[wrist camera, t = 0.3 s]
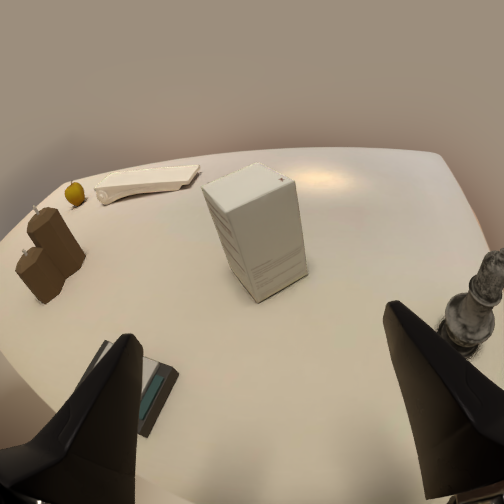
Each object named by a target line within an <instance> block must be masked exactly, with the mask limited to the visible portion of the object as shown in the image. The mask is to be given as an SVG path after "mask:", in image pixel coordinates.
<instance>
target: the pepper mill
mask: <svg viewBox="0 0 504 504" xmlns="http://www.w3.org/2000/svg"><path fill="white" fill-rule="evenodd" d="M503 288H504V248H502V249H500V252H499V251H491V252H488V253H487V254H486V255H485V257H484V259H483V261H482V264H481V266H480V269H479V271H478V273H477V275H475V276H473V277H472V278H471V280H470V282H469V291H468V293H460V294H457V295H455V296H454V297H452V298H451V299H450V301H449V302H448V304H447V307H446V310H445V318H446V319H445V320H443V321H442V323H441V324H440V326H439V329H438V334H439V335H440V336H441V337H442V338H444V339H445V340H446V341H447V342H448V343H449V344H450V345H451V346H453V347H454V348H455V349H456V350H457V351H458V352H459V353H460V354H461V355H462V356H464V357H465V358H468V357H470V356H471V355H472V354H473V353H475V351H476V349H477V348H478V344H479V343H482V342H484V341H486V340H487V339H488V338H489V337H490V336H491V335H492V332H493V330H494V326H495V318H494V314H493V311H492V309H493V307H494V306H496V305H498V304H499V303H500V301H501V299H502V290H503Z"/></svg>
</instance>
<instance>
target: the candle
mask: <svg viewBox="0 0 504 504" xmlns="http://www.w3.org/2000/svg"><path fill="white" fill-rule="evenodd" d="M33 209H34V210H35V212H36V214H35V215H34V216H33V217H32V218H31V220H30V221H29V222H28V227H27V233H28V235H29V237H30V238H31V240H32V241H33V243H34V244H35V246H36V247H32V248H30V249H29V250H28V251H27V252H26V251H25V250H24V249H23V250H22V252H23V253H24V254H23V255H22V257H21V258H20V260H19V261H18V263H17V266H16V270H15V271H16V273H17V274H18V275H19V277H20V278H21V279H22V280H23V282H24V283H25V284H26V285H27V287H28V288H29V289H30V290H31V292H32V293H33V294H34V295H35V296H36V298H37V299H38V300H40V301H41V302H43V303H44V304H46V303H48V302H49V301H50V300H52V299H53V298H54V297H56V296H57V295H58V294H59V293H60V291H61V289H62V287H63V284H64V282H65V280H66V278H68V277H69V276H71V275H72V274H73V273H75V272H76V271H77V270H79V269H80V268H81V265H82V263H83V261H84V259H85V256H86V255H85V254H84V252H83V250H82V249H81V247H80V246H79V244H78V243H77V241H76V240H75V238H74V236H73V235H72V233H71V232H70V230H69V228H68V227H67V225H66V223H65V222H64V220H63V218H62V216H61V215H60V213H59V211H58V209H55V208H49V207H47V208H43V209H42V210H40V211H38V210H37V208H36V207H35V206H34V205H33Z"/></svg>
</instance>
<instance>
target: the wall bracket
mask: <svg viewBox="0 0 504 504" xmlns="http://www.w3.org/2000/svg"><path fill="white" fill-rule="evenodd" d="M199 169H200V165H190V166H176V167H163V168H152V169H142V170H133V171H125V172H117V173H110V174H109V175H108V176H106V177H105V178H104V179H103V180H102V181H101V182H100V183H99V184H98V185H97V186H96V187H95V188H94V190H95V191H96V193H97V199H98V200H99V201H100V202H101V203H102V204H105V205H108V204H110V203H111V202H113V201H115V200H117V199H119V198H122V197H125V196H128V195H132V194H138V193H148V192H162V191H177V190H179V189H180V188H181V186H182V185H186V184H189V183H190V182H191V180H192V179H193V178H194V176H195V175H196V174H197V172H198V171H199Z"/></svg>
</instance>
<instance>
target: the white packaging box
mask: <svg viewBox="0 0 504 504" xmlns="http://www.w3.org/2000/svg"><path fill="white" fill-rule="evenodd" d="M201 188H202V191H203V194H204V197H205V200H206V202H207V205H208V208H209V211H210V213H211V216H212V219H213V221H214V224H215V227H216V229H217V232H218V235H219V238H220V241H221V243H222V246H223V249H224V252H225V254H226V257H227V260H228V263H229V265H230V268H231V270H232V271H233V272H234V273H235V275H236V276H237V277H238V279H239V280H240V281H241V282H242V284H243V285H244V286H245V288H246V289H247V290H248V292H249V293H250V294H251V296H252V297H253V298H254V299H255V301H256V302H257V303H259V302H261V301H262V300H264V299H266V298H268V297H269V296H271V295H273V294H274V293H276V292H278V291H280V290H281V289H283V288H285V287H286V286H288V285H290V284H291V283H293V282H295V281H297V280H298V279H300V278H302V277H303V276H305V275H307V274H308V272H307V264H306V256H305V248H304V240H303V233H302V225H301V218H300V211H299V204H298V198H297V191H296V185H295V181H294V180H292V179H290V178H289V177H287V176H285V175H283V174H281V173H279V172H277V171H275V170H273V169H271V168H269V167H267V166H265V165H263V164H261V163H258V162H257V163H254V164H252V165H249V166H247V167H245V168H242V169H240V170H238V171H235V172H233V173H231V174H228V175H226V176H223V177H221V178H219V179H217V180H214V181H212V182H210V183H207V184H205V185H203V186H201Z"/></svg>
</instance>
